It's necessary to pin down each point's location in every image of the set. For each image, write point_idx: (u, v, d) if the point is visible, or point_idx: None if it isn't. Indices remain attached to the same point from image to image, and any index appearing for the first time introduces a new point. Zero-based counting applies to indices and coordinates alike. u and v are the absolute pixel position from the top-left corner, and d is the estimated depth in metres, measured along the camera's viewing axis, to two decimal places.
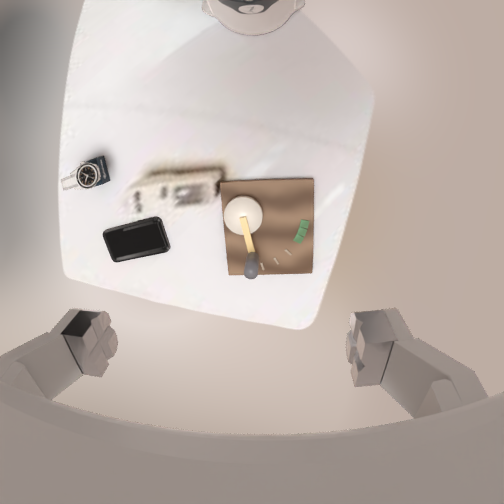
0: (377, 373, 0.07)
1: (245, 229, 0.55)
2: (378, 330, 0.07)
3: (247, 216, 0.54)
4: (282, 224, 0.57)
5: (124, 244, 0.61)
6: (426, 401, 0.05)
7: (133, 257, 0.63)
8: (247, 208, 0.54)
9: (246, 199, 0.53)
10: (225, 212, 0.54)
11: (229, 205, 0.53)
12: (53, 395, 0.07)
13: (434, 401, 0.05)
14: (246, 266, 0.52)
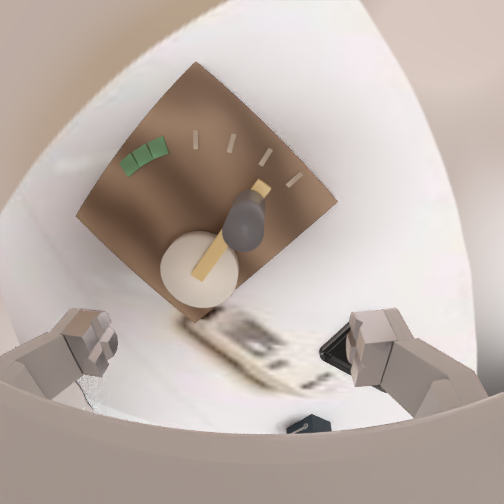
0: (377, 373, 0.07)
1: (209, 259, 0.25)
2: (378, 330, 0.07)
3: (190, 269, 0.26)
4: (162, 194, 0.26)
5: None
6: (426, 401, 0.05)
7: None
8: (179, 278, 0.27)
9: (169, 289, 0.27)
10: (216, 303, 0.27)
11: (200, 305, 0.28)
12: (53, 395, 0.07)
13: (434, 401, 0.05)
14: None
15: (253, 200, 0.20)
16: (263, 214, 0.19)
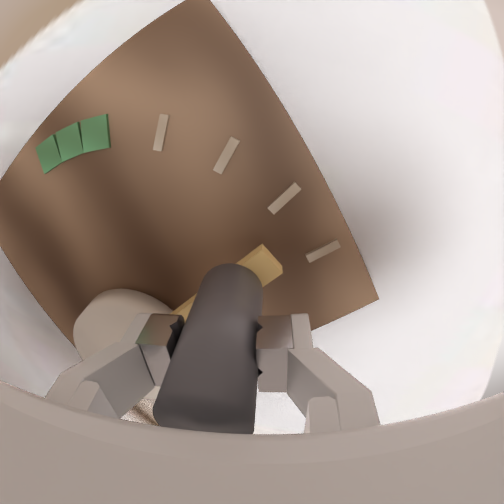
0: (279, 380, 0.08)
1: None
2: (275, 336, 0.08)
3: None
4: (89, 217, 0.14)
5: None
6: (306, 417, 0.05)
7: None
8: None
9: None
10: (151, 397, 0.16)
11: None
12: (120, 412, 0.07)
13: (309, 419, 0.05)
14: None
15: (243, 316, 0.08)
16: None
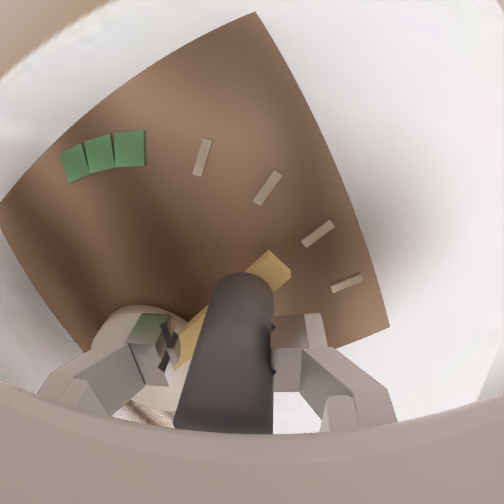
0: (292, 380, 0.08)
1: None
2: (289, 335, 0.08)
3: None
4: (116, 232, 0.14)
5: None
6: (324, 416, 0.05)
7: None
8: None
9: None
10: (174, 408, 0.16)
11: (151, 405, 0.16)
12: (111, 410, 0.07)
13: (327, 418, 0.05)
14: None
15: (254, 324, 0.09)
16: None
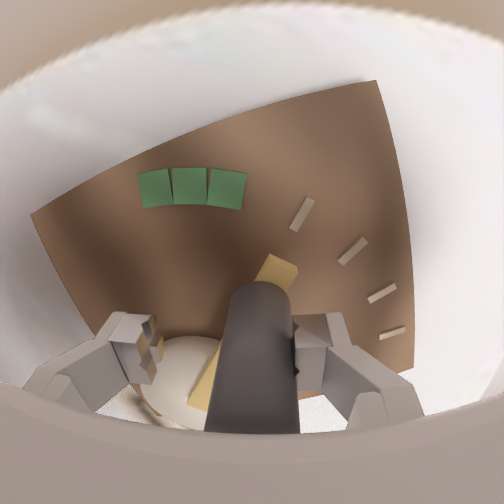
0: (315, 378, 0.08)
1: (210, 387, 0.14)
2: (313, 334, 0.08)
3: (185, 394, 0.15)
4: (191, 267, 0.14)
5: None
6: (352, 413, 0.05)
7: None
8: (173, 404, 0.16)
9: (163, 414, 0.16)
10: None
11: None
12: (95, 407, 0.07)
13: (357, 415, 0.05)
14: None
15: (266, 329, 0.09)
16: (292, 361, 0.08)
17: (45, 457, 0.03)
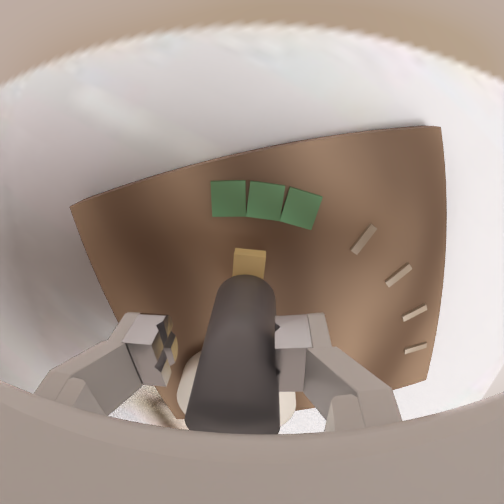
0: (297, 379, 0.08)
1: None
2: (294, 335, 0.08)
3: None
4: None
5: None
6: (329, 416, 0.05)
7: None
8: None
9: None
10: (280, 423, 0.16)
11: None
12: (108, 410, 0.07)
13: (332, 417, 0.05)
14: None
15: (234, 318, 0.09)
16: (265, 342, 0.08)
17: (45, 457, 0.03)
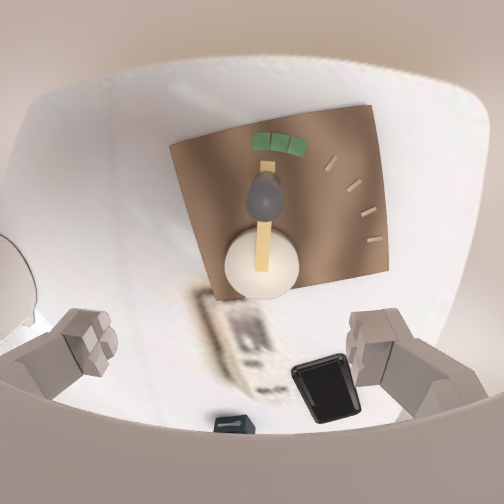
0: (377, 373, 0.07)
1: (263, 249, 0.27)
2: (378, 330, 0.07)
3: (252, 267, 0.28)
4: None
5: (334, 404, 0.40)
6: (426, 401, 0.05)
7: (355, 394, 0.39)
8: (248, 280, 0.29)
9: (245, 294, 0.30)
10: (290, 284, 0.29)
11: (279, 293, 0.29)
12: (52, 395, 0.07)
13: (434, 401, 0.05)
14: None
15: (262, 177, 0.21)
16: (276, 182, 0.21)
17: (45, 457, 0.03)
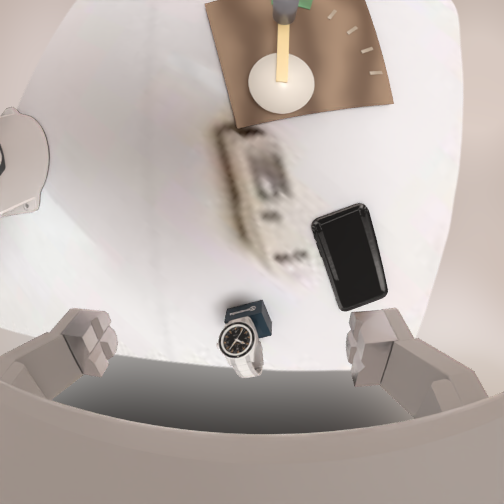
0: (377, 373, 0.07)
1: (282, 62, 0.26)
2: (378, 330, 0.07)
3: (273, 80, 0.28)
4: None
5: (359, 278, 0.40)
6: (426, 401, 0.05)
7: (380, 263, 0.39)
8: (270, 93, 0.28)
9: (267, 107, 0.29)
10: (308, 97, 0.28)
11: (298, 106, 0.29)
12: (53, 395, 0.07)
13: (434, 401, 0.05)
14: (292, 6, 0.20)
15: None
16: None
17: (45, 457, 0.03)
